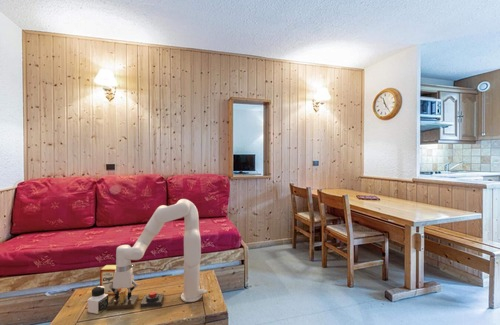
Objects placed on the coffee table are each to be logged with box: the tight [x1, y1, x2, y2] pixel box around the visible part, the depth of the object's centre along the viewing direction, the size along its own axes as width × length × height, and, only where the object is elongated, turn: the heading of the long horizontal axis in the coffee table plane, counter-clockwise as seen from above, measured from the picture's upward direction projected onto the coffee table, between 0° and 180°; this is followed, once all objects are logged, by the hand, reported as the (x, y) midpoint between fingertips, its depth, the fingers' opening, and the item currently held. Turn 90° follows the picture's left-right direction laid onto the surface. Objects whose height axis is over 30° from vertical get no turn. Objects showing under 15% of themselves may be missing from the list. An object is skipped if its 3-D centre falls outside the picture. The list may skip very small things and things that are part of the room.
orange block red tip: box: [119, 288, 127, 303], centre depth 142 cm, size 6×2×5 cm, turn 10°
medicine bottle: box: [87, 285, 109, 315], centre depth 137 cm, size 7×7×12 cm
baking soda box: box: [99, 264, 122, 296], centre depth 155 cm, size 10×6×16 cm
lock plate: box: [105, 294, 140, 312], centre depth 142 cm, size 14×10×3 cm
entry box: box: [140, 292, 165, 308], centre depth 145 cm, size 11×9×4 cm
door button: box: [148, 291, 157, 298], centre depth 145 cm, size 4×4×2 cm
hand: (123, 298), depth 142 cm, fingers open, 5 cm apart
